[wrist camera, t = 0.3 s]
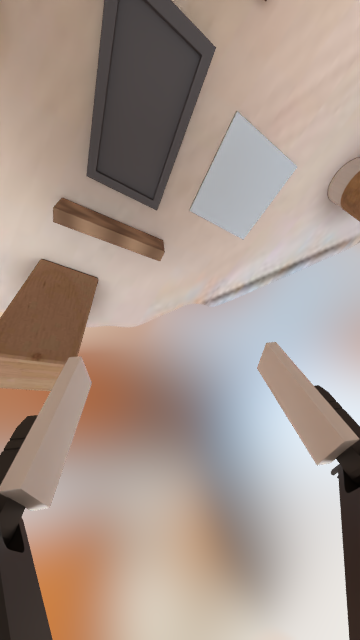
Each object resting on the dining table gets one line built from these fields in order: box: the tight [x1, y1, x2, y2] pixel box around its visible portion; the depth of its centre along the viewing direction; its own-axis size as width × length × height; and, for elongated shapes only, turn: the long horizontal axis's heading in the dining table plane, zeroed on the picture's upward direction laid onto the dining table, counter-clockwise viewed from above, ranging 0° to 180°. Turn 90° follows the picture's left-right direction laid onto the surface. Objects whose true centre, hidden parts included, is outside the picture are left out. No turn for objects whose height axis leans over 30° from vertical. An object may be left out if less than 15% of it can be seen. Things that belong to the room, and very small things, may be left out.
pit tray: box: [87, 0, 216, 210], centre depth 21 cm, size 10×16×1 cm, turn 153°
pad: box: [189, 111, 297, 240], centre depth 28 cm, size 12×12×1 cm
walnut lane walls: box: [53, 0, 267, 261], centre depth 20 cm, size 16×29×4 cm, turn 153°
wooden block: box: [0, 260, 98, 391], centre depth 32 cm, size 10×10×20 cm
